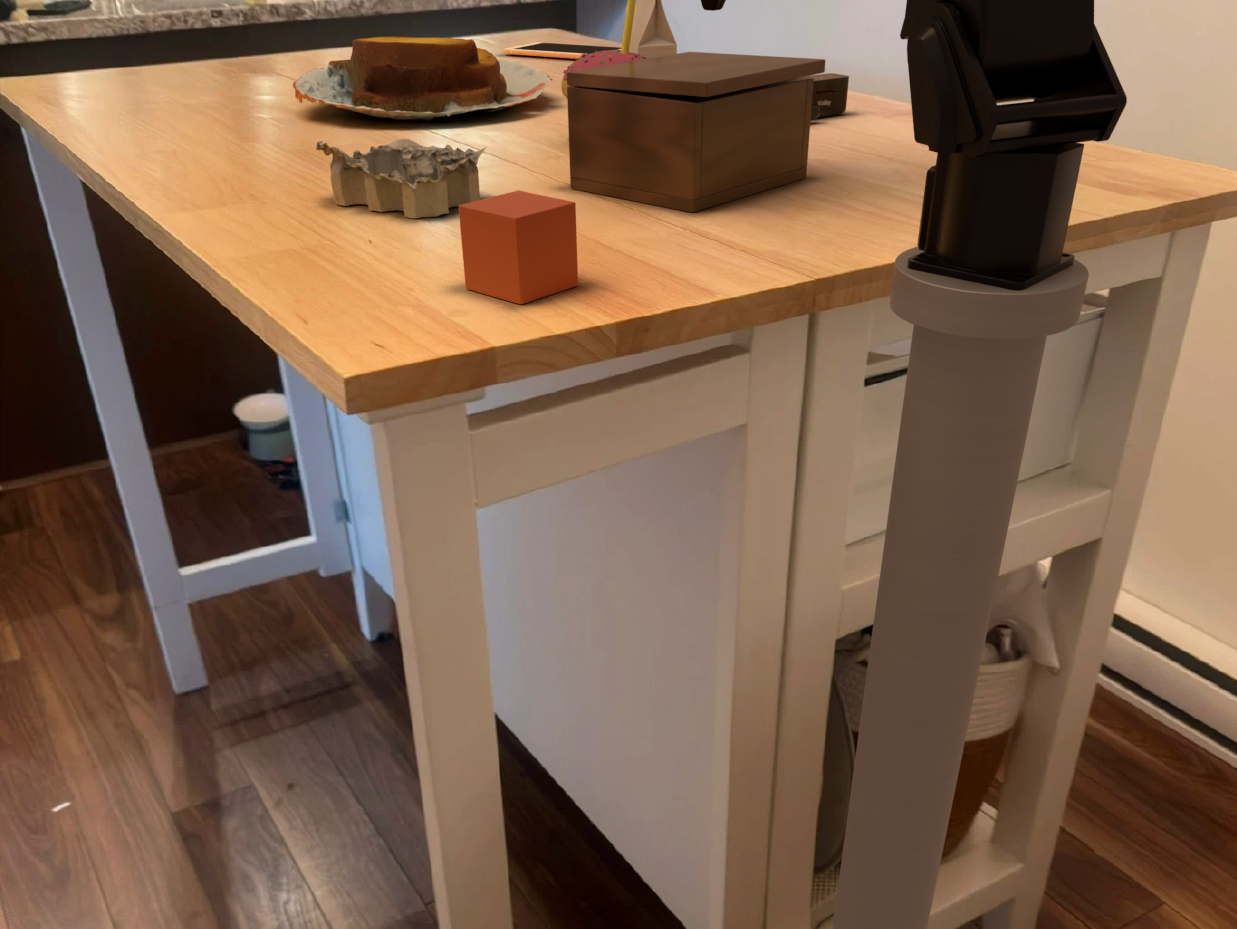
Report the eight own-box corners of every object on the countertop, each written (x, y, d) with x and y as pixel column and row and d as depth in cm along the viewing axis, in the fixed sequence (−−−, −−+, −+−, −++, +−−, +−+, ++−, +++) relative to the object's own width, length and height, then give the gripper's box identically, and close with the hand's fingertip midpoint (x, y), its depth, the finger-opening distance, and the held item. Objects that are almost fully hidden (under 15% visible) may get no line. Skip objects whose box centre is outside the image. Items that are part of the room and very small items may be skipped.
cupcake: (667, 133, 101) (668, -24, 95) (657, 152, 94) (657, -15, 88) (571, 132, 102) (566, -23, 96) (554, 151, 95) (547, -15, 89)
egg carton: (317, 203, 82) (307, 141, 79) (394, 183, 87) (387, 124, 84) (422, 223, 76) (415, 157, 74) (498, 201, 81) (494, 139, 79)
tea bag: (638, 116, 108) (637, -5, 103) (622, 105, 114) (621, -11, 108) (675, 114, 109) (677, -6, 103) (658, 103, 114) (659, -12, 109)
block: (578, 285, 64) (575, 202, 62) (520, 305, 62) (515, 218, 59) (523, 271, 67) (518, 190, 64) (465, 288, 64) (457, 205, 62)
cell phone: (608, 61, 139) (608, 55, 139) (502, 54, 146) (501, 48, 146) (641, 54, 144) (641, 48, 144) (536, 47, 151) (536, 41, 151)
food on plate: (551, 84, 125) (548, 16, 122) (556, 127, 105) (553, 47, 101) (317, 89, 124) (307, 20, 120) (276, 133, 104) (262, 52, 100)
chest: (806, 178, 86) (814, 77, 82) (692, 212, 78) (695, 103, 74) (686, 158, 92) (688, 64, 89) (570, 188, 84) (566, 86, 80)
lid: (825, 72, 81) (825, 59, 81) (706, 97, 73) (706, 82, 73) (688, 64, 89) (688, 51, 88) (566, 85, 80) (565, 72, 80)
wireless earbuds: (770, 118, 107) (773, 80, 105) (828, 110, 110) (831, 72, 108) (804, 125, 103) (806, 86, 102) (862, 117, 107) (866, 78, 105)
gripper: (712, -268, 78) (705, -7, 87) (514, -288, 67) (529, 15, 76) (850, -282, 72) (828, 1, 81) (658, -307, 61) (656, 25, 70)
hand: (712, 9), depth 77 cm, fingers closed
